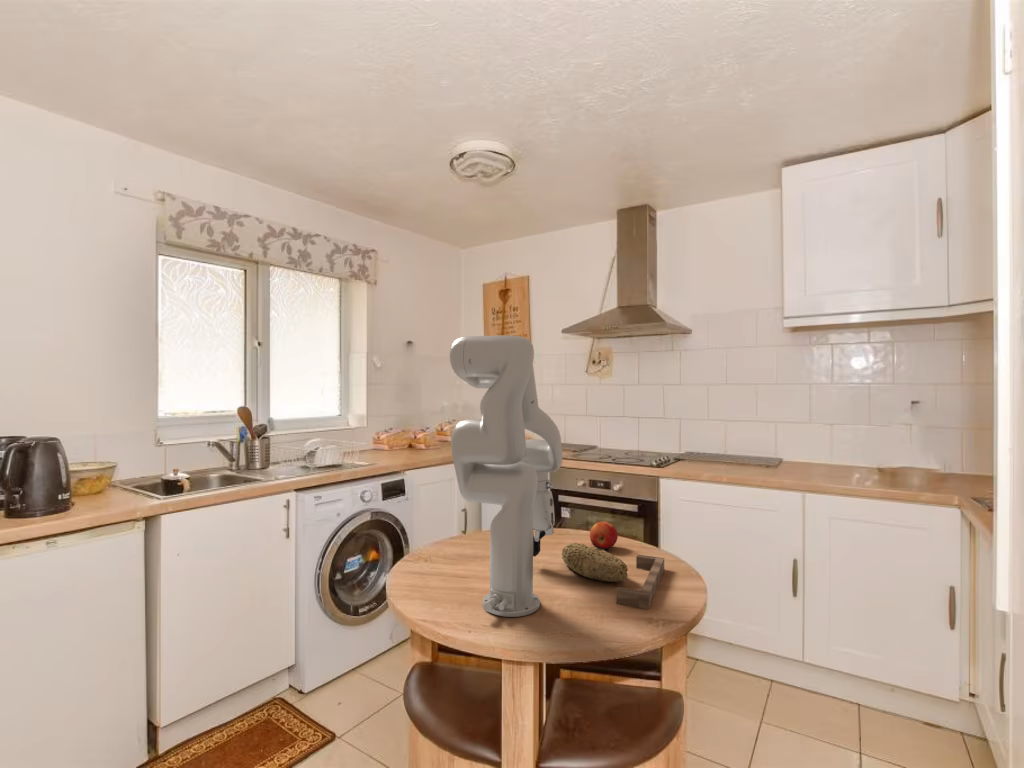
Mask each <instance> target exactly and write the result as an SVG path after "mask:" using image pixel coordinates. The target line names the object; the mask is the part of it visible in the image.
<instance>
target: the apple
mask: <svg viewBox="0 0 1024 768" xmlns="http://www.w3.org/2000/svg"><path fill="white" fill-rule="evenodd" d="M618 538H619V536H618V532H617V528H616V527H615V526H614V525H613V524H612V523H610V522H608V521H606V520H604V521H603V520H602V521H598V522H596V523H594V525H592V526H591V528H590V532H589V540H590V542H591V544H592V545H593V547H594V548H597V549H601V550H606V549H611V548H612V547H613V546H614V545H616V543H617V542H618Z"/></svg>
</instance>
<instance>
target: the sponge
mask: <svg viewBox="0 0 1024 768" xmlns="http://www.w3.org/2000/svg"><path fill="white" fill-rule="evenodd" d="M561 554H562V555H561V558H562V561H563V563H565V565H566V566H567V567H569V568H570V570H572V571H573V572H575V573H577V574H578V575H580V576H582V577H585V578H589V579H591V580H596V581H600V582H604V583H605V582H608V583H619V582H622V581H625V580H626V579H627V578H628V566H627V564H625V562H624V561H623V560H622V559H621V558H619V557H618V556H616V555H614V554H612V553H610V552H608V551H606V550H605V549H603V550H601V549H598V548H596V547H595V546H587V545H586V544H584V543H582V544H581V543H577V542H572V543H568V544H567V545H565V546H564V547H563V548H562V552H561Z"/></svg>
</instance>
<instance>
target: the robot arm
mask: <svg viewBox="0 0 1024 768" xmlns="http://www.w3.org/2000/svg"><path fill="white" fill-rule="evenodd" d="M533 345H534V344H533V343H532V341H531V340H529V339H528V338H526V337H524V336H519V335H472V336H471V335H470V336H469V335H467V336H461V337H458V338H456V339H455V340H454V341H453V343H451V346H450V349H449V350H450V351H449V362H450V365H451V368H452V370H453V372H454V373H455V375H456V376H457V377H458V378H460V379H461V380H463V381H464V382H466V384H468V385H469V386H470V387H473V388H475V389H487V391H486V392H485V393H484V395H483V396H482V399H481V400H480V403H479V410H480V414H481V415H480V416H481V418H480V419H477V418H475V419H474V418H473V419H471V418H470V419H468V418H467V419H464V420H461V421H459V422H457V423H456V425H455V426H454V428H453V430H452V434H451V441H450V443H451V444H450V447H451V449H450V451H451V455H452V456H451V457H452V461H453V466H454V467H453V468H454V471H455V475H456V480H457V485H458V489H459V493H460V495H461V497H462V498H463V499H464V500H465V501H467V502H468V503H475V504H487V505H488V504H490V505H491V504H492V505H498V506H501V509H500V510H499V511H498V512H497V514H496V515H494V517H493V519H492V521H491V524H490V527H489V592H488V593H487V594H486V595H485V596H483V598H482V607H483V610H484V611H486V613H490V614H493V615H495V616H499V617H507V618H508V617H509V618H512V617H514V618H515V617H517V618H518V617H524V616H525V617H526V616H528V615H531V614H533V613H535V612H536V611H537V610H538V609H539V608H540V605H541V604H540V603H541V601H540V597H539V596H538V595H536V593H534V591H533V589H534V557H536V556H538V555H539V553H541V539H543V538H544V537H545V536H551V535H552V536H553V534H554V533H555V531H554V526H555V521H556V520H555V519H556V518H555V505H554V504H555V503H554V497H553V493H552V490H550V489H553V488H554V487H555V486H554V482H551V481H550V479H549V477H550V476H549V475H550V474H549V473H555V472H557V471H558V470H560V468H561V466H562V463H563V448H562V447H563V445H562V440H561V439H562V438H561V433H560V430H559V428H558V426H557V425H556V423H555V422H554V420H553V419H552V418H551V417H550V416H549V414H547V413H546V412H545V411H544V410H542V409H541V408H540V407H539V401H538V391H537V386H536V378H535V377H536V376H535V372H534V371H535V370H534V359H535V358H534V357H535V350H534V346H533ZM525 430H527V431H528V432H529V431H530V432H532V433H534V434H536V435H537V436H539V437H541V438H542V439H538V438H533V439H532V438H530V439H529V438H527V439H526V431H525ZM534 531H535V533H534Z"/></svg>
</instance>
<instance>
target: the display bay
mask: <svg viewBox="0 0 1024 768" xmlns="http://www.w3.org/2000/svg"><path fill="white" fill-rule="evenodd" d="M635 559H636V560H635V563H636V565H635V567H637V568H636V569H640V568H644V569H643V570H647V569H650V570H649V572H648V574H647V577H646V578H645V580H644V583H643V585H642V587H641V589H640V590H639V589H633V588H627V587H621V586H618V587H617V588H616V591H615V592H616V593H615V594H616V598H615V599H616V605H623V606H627V607H635V608H639V609H645V610H649V609H650V606H651V604H652V602H653V599H654V597H655V594H656V592H657V589H658V587H657V586H659V584H660V582H661V579H660V578H662V576H663V574H662V573H664V572H665V557H660V556H659V557H658V556H653V555H652V556H650V555H645V554H637V555H636V556H635ZM659 581H660V582H659ZM658 583H659V584H658ZM655 591H656V592H655Z"/></svg>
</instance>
